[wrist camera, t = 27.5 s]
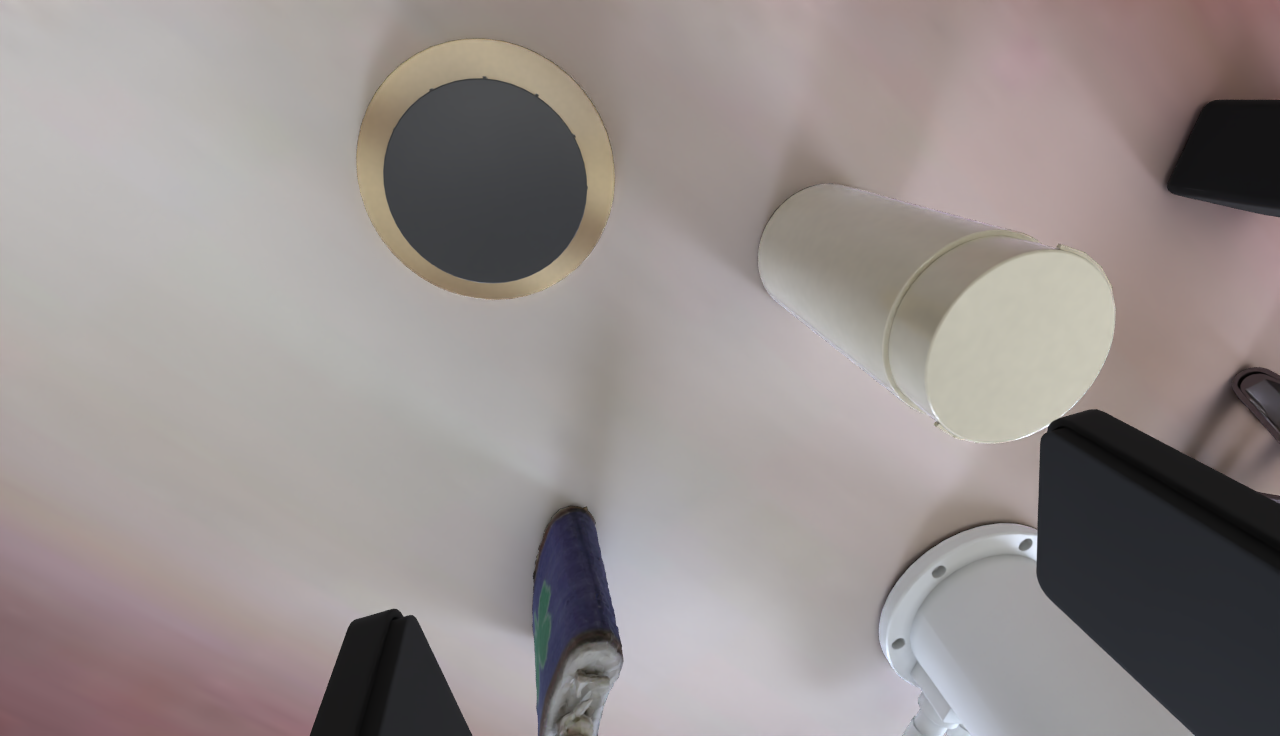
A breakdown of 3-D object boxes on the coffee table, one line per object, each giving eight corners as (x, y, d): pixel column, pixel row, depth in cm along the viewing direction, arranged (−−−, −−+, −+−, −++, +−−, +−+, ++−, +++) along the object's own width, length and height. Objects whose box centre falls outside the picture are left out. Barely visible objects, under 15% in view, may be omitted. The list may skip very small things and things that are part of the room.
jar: (850, 327, 31) (1051, 465, 20) (738, 297, 30) (884, 427, 18) (903, 205, 30) (1161, 277, 18) (787, 165, 28) (987, 216, 16)
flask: (575, 643, 36) (596, 844, 26) (522, 643, 35) (524, 849, 26) (601, 505, 33) (637, 675, 23) (544, 501, 32) (556, 676, 22)
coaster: (577, 321, 29) (578, 324, 29) (340, 263, 26) (337, 266, 26) (644, 90, 26) (645, 90, 25) (381, -3, 23) (379, -5, 23)
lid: (413, 51, 23) (402, 47, 21) (603, 115, 25) (610, 117, 23) (379, 243, 26) (367, 255, 24) (555, 288, 28) (559, 303, 26)
